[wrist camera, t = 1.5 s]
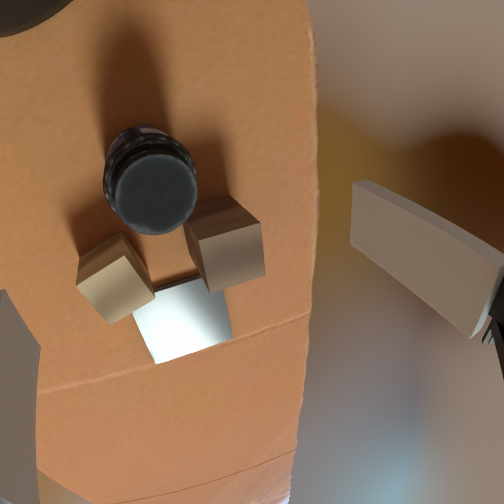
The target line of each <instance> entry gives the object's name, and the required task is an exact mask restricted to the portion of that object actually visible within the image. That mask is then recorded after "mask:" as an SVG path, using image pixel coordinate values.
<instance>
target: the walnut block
mask: <svg viewBox="0 0 504 504" xmlns="http://www.w3.org/2000/svg"><path fill="white" fill-rule="evenodd" d="M183 227H184V231H185V236H186V240H187V244H188V249H189V253H190V256H191V258H192V260H193V262H194V264H195V266H196V268H197V270H198V271H199V273H200V275H201V277H202V279H203V281H204V283H205V285H206V287H207V289H208V291H209V292H210V294H211V293H214V292H217V291H220V290H223V289H226V288H229V287H232V286H235V285H238V284H241V283H244V282H247V281H250V280H253V279H256V278H259V277H262V276H264V275H265V264H264V253H263V243H262V232H261V223H260V222H259V221H258V220H257V219H256V218H255V217H254V216H252V215H251V214H250V213H249V212H248V211H247V210H246V209H245V208H243V207H242V206H241V205H240V204H239V203H238V202H237V201H236V200H234V199H233V198H232V197H231V196H226V197H223V198H219V199H215V200H211V201H207V202H204V203H200V204H196V205H195V207H194V210H193V212H192V213H191V215H190V216H189V218H188V219H187V220H186V221H185V222H184V223H183Z"/></svg>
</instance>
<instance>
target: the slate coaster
mask: <svg viewBox="0 0 504 504" xmlns="http://www.w3.org/2000/svg"><path fill="white" fill-rule="evenodd" d="M153 290H154V294H155V298H156V299H154V300H152V301H151V302H149V303H147V304H145V305H144V306H142V307H140V308H139V309H137V310H135V311H134V312H132V313H133V316H134V318H135V320H136V323H137V325H138V327H139V329H140V332H141V334H142V336H143V338H144V340H145V342H146V345H147V347H148V349H149V351H150V353H151V355H152V357H153V359H154V361H155V363H156V364H159V363H162V362H165V361H168V360H171V359H174V358H177V357H180V356H183V355H186V354H189V353H192V352H195V351H198V350H201V349H204V348H207V347H210V346H213V345H215V344H218V343H221V342H224V341H227V340H229V339H232V338H233V336H232V331H231V326H230V321H229V316H228V311H227V306H226V301H225V296H224V291H223V290H220V291H217V292H214V293H211V294H210V292H209V291H208V289H207V287H206V285H205V283H204V281H203V279H202V277H201V275H200V274H198V275H194V276H191V277H188V278H185V279H182V280H179V281H175V282H172V283H169V284H166V285H163V286H160V287H156V288H153Z"/></svg>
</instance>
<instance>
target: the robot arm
mask: <svg viewBox="0 0 504 504" xmlns="http://www.w3.org/2000/svg"><path fill="white" fill-rule="evenodd" d="M71 1H73V0H0V38H1V37H7V36H11V35H15V34H18V33H21V32H23V31H26V30H28V29H30V28H33V27H35V26H37V25H38V24H40V23H42V22H44V21H46V20H47V19H49V18H50V17H52V16H53V15H55V14H56V13H58V12H59V11H60V10H62V9H63V8H64V7H66V6H67V5H68V4H69V3H70V2H71ZM352 194H353V195H352V217H351V235H350V244H351V245H352V246H353V247H355V248H356V249H357V250H359V251H360V252H361V253H363V254H364V255H365V256H367V257H368V258H370V259H371V260H372V261H373V262H375V263H376V264H377V265H379V266H380V267H381V268H383V269H384V270H385V271H387V272H388V273H389V274H391V275H392V276H393V277H394V278H396V279H397V280H398V281H400V282H401V283H402V284H403V285H405V286H406V287H407V288H409V289H410V290H411V291H412V292H413V293H415V294H416V295H417V296H418V297H420V298H421V299H422V300H424V301H425V302H426V303H427V304H428V305H430V306H431V307H432V308H433V309H435V310H436V311H437V312H438V313H439V314H441V315H442V316H443V317H444V318H445V319H447V320H448V321H449V322H450V323H451V324H453V325H454V326H455V327H456V328H457V329H458V330H460V331H461V332H462V333H463V334H464V335H466V336H467V337H468V338H469V339H471V338H472V337H473V336H474V335H475V334H476V333H477V332H478V331H479V330H480V329H481V328H482V326H483V324H484V322H485V320H486V318H487V316H488V314H489V315H490V316H491V317H492V320H491V322H490V324H489V326H488V328H487V330H486V332H485V334H484V336H483V338H482V344H485V343H486V341H487V339H488V337H489V335H490V334H492V336H491V338H490V340H489V343H488V344H495V346H496V350H497V353H498V358H499V361H500V366H501V370H502V374H503V379H504V254H502V253H501V252H499V251H498V250H496V249H495V248H493V247H491V246H490V245H488V244H487V243H485V242H483V241H482V240H480V239H479V238H477V237H475V236H474V235H472V234H470V233H468V232H467V231H465V230H463V229H461V228H460V227H458V226H456V225H455V224H453V223H451V222H449V221H448V220H446V219H444V218H442V217H440V216H438V215H437V214H435V213H433V212H431V211H429V210H427V209H425V208H423V207H422V206H420V205H418V204H416V203H414V202H412V201H410V200H408V199H406V198H404V197H402V196H400V195H398V194H396V193H394V192H392V191H390V190H388V189H386V188H383V187H382V186H379V185H377V184H375V183H373V182H371V181H368V180H364V181H360V182H356V183H353V192H352ZM40 350H41V346H40V345H39V344H38V342H37V341H36V339H35V338H34V336H33V335H32V333H31V332H30V330H29V329H28V327H27V326H26V324H25V322H24V321H23V319H22V318H21V316H20V314H19V313H18V311H17V309H16V308H15V306H14V304H13V303H12V301H11V299H10V298H9V296H8V294H7V292H6V290H5V289H3V290H0V504H40V500H39V491H38V482H37V481H38V480H37V467H36V441H35V420H36V393H37V379H38V368H39V358H40Z"/></svg>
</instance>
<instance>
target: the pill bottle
mask: <svg viewBox="0 0 504 504" xmlns="http://www.w3.org/2000/svg"><path fill="white" fill-rule="evenodd" d="M103 190H104V194H105V197H106V200H107V202H108V204H109V206H110V208H111V209H112V210H113V212H114V213H115V214H116V215H117V216H119V217H120V218H121V219H122V221H123V222H124V223H125V224H126V225H127V226H128V227H130V228H131V229H133V230H135V231H136V232H139V233H142V234H145V235H160V234H165V233H168V232H171V231H173V230H175V229H176V228H178V227H179V226H181V225H182V224H183V223H184V222H185V221H186V220H187V219H188V218H189V216H190V215H191V213H192V212H193V210H194V207H195V204H196V202H197V196H198V188H197V181H196V168H195V164H194V162H193V159H192V158H191V155H190V154H189V152H188V151H187V149H186V148H185V147H184V146H183V145H182V144H181V143H179V142H178V141H177V140H175V139H173V138H172V137H170V136H169V135H167V134H165V133H164V132H162V131H161V130H159V129H157V128H155V127H152V126H137V127H132V128H129V129H127V130H125V131H123V132H122V133H120V134H119V135H118V136H117V137H116V138H115V139H114V140H113V142H112V143H111V145H110V147H109V149H108V152H107V155H106V161H105V168H104V176H103Z"/></svg>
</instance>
